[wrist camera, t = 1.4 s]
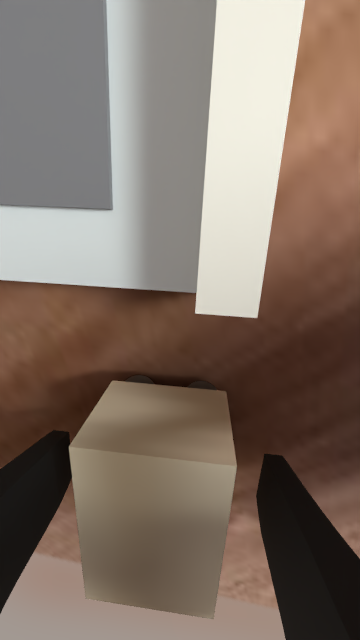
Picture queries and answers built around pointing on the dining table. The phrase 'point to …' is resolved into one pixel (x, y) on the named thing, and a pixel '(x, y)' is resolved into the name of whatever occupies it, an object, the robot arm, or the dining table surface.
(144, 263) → the dock
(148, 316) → the dining table surface
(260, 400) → the dining table surface
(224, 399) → the cream rectangular block
